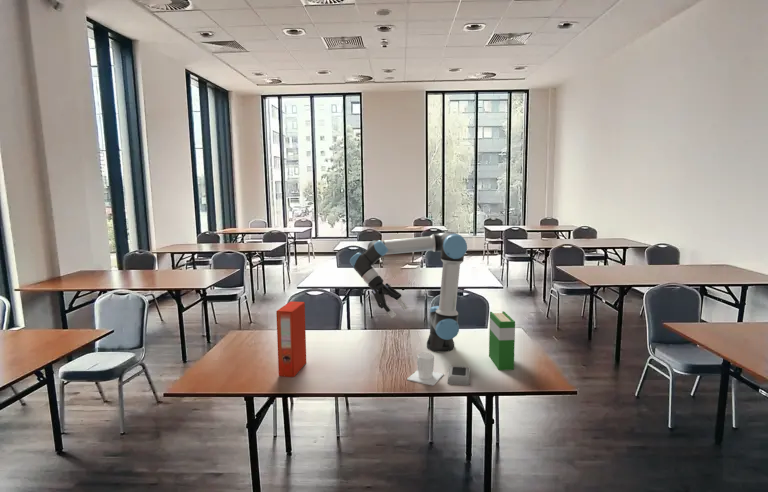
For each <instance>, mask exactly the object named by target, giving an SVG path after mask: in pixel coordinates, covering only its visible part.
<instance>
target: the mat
mask: <svg viewBox="0 0 768 492" xmlns="http://www.w3.org/2000/svg"><path fill="white" fill-rule="evenodd" d="M443 376H444V373H441V372H437V371H433V377H432V378H430V379H422V378H420V377H419V376H418V369H416V370H415V372H414V373H412V374H411V375H410V376H409V377H407V379H406V381H409V382H413V383H419V384H423V385H427V386H428V385H429V386H433V387H434V386H435V385H436V384H437V382H438V381H440V380H441V379H442V377H443Z"/></svg>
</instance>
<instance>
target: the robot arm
mask: <svg viewBox="0 0 768 492" xmlns="http://www.w3.org/2000/svg"><path fill="white" fill-rule="evenodd" d="M467 250H468V243H467V241H466V240H465V238H464V237H463V236H462V235H461V234H458V233H456V232H454V231H446V232H445V231H444V232H438V233H432V234H431V235H429V236H419V237H410V238H409V237H407V238H398V239H397V238H395V239H385V240H380V239H378V240H372V241H370V242H369V243H368V244H367V250H366V251H364V252H363V253H362V252H356V253H355V254H354V255H353V256H351V257H350V259H349V264H350V265H351V266H352V267H353V269H354V271H355V272H356V273H357V274H358V275H359V276H360V277H361V278H362V280H363V281H364V282H365V284H367V286H368V287H369V289H370V290H371V294H372V295H373V297H374V299H375V301H376V304H377V306H378V308H379V309H384V311H386V313H387V314H388V315H389V316H390V318H391V319H394V317H396V315H397V313H396V312H395V310H393V309H392V307H391V306H390V305H389V304H388V303H387V302H386V298H385V296H386V295H387V296H388V297H390V298H393V299H394V300H396V302H397V304H398V305H399V306H400V308H401V309H402V310H403V312H405V311H406V310H407V309H409V306H408V305H407V304H406V303H405V301H404V300H403V299H402V298H401V297H402V294H401V293H400V292H398V291H397V290H396V289H395V288H393V287H392V286H390V285H389V283H388V282H387V283H385V284H384V278H382V277H381V276H380V275H379V273H378V272H377V271H376V270H375V268H374V267H373V265H375V263H376V262H378V261H379V260H380V259H382V257H384V256H385V255H394V254H406V253H415V252H417V253H418V252H426V251H431V252H433V253H440V260H441V262H442V272H441V281H440V282H441V284H440V292H439V302H438V303H439V305H435V306H431V307H430V309H429V335H428V338H427V342H426V348H427V349H428V350H430V351H431V352H438V353H444V352H445V353H447V352H451V351H453V350H454V349H455V342H454V341H455V340H454V339H455V337H457V336H458V334H459V333H460V325H459V323H458V322H459V321H458V319H459V312H458V311H457V301H458V300H457V299H458V290H459V280H460V279H459V278H460V268H461V267H460V266H461V264H462V263H463V262H464V259H465V255H466V253H467Z"/></svg>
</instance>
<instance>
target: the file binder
mask: <svg viewBox="0 0 768 492" xmlns="http://www.w3.org/2000/svg"><path fill="white" fill-rule="evenodd" d="M305 305H306V303H305V301H288V302H287V303H285V304H284V305H283V306H281V307H280V308H278V309H277V310H276V311H275V312H276V334H277V335H276V338H277V343H276V344H277V362H278V363H277V364H278V370H277V371H278V376H279V377H288V378H294V377H295V376H296V375H297V374H298V373H299V372H300V371H301V370H302V369H303V367H304V366H305V365H306V364H307V344H306V343H307V341H306V340H307V335H306V306H305Z"/></svg>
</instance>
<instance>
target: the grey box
mask: <svg viewBox="0 0 768 492" xmlns="http://www.w3.org/2000/svg"><path fill="white" fill-rule="evenodd" d="M470 369H471V368H470V367H469V366H461V365H460V366H459V365H449V367H448V376H447V384H449V385H450V384H451V385H462V386H463V385H465V386H470V371H471V370H470Z"/></svg>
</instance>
